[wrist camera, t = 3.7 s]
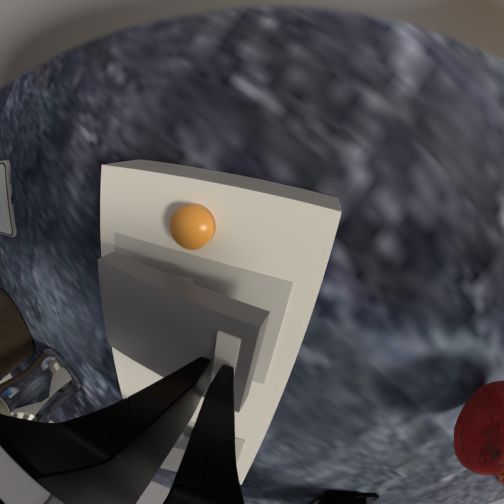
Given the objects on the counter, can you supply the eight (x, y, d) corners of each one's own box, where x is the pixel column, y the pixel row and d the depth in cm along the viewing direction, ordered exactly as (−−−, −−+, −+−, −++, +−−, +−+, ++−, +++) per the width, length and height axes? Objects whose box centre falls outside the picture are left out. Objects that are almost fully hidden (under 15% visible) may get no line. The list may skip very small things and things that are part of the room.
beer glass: (35, 335, 24) (-50, 406, 10) (71, 356, 22) (-23, 447, 9) (55, 379, 27) (-15, 448, 13) (92, 401, 25) (18, 486, 11)
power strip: (240, 481, 23) (230, 506, 20) (155, 449, 25) (141, 471, 22) (338, 197, 12) (342, 215, 9) (140, 159, 14) (92, 166, 10)
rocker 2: (225, 464, 17) (223, 481, 16) (136, 444, 17) (130, 459, 15) (232, 439, 15) (230, 459, 14) (127, 414, 15) (119, 432, 14)
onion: (431, 394, 14) (450, 499, 7) (501, 341, 12) (550, 436, 4) (459, 424, 14) (474, 507, 7) (518, 380, 12) (551, 459, 5)
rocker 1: (252, 389, 12) (237, 414, 10) (126, 329, 13) (106, 345, 12) (274, 304, 10) (259, 329, 8) (122, 247, 12) (96, 259, 10)
